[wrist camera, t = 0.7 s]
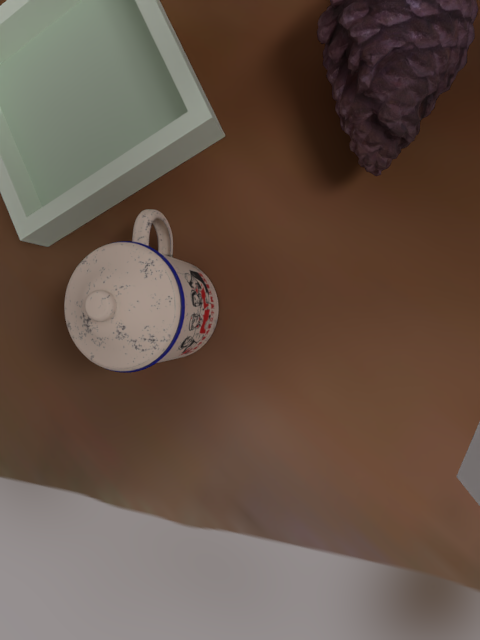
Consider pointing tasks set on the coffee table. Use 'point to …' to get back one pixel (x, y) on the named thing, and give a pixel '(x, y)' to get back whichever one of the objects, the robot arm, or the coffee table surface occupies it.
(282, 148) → the coffee table surface
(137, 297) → the teacup with lid
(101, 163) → the mint green square tray
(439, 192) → the coffee table surface
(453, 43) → the pine cone
